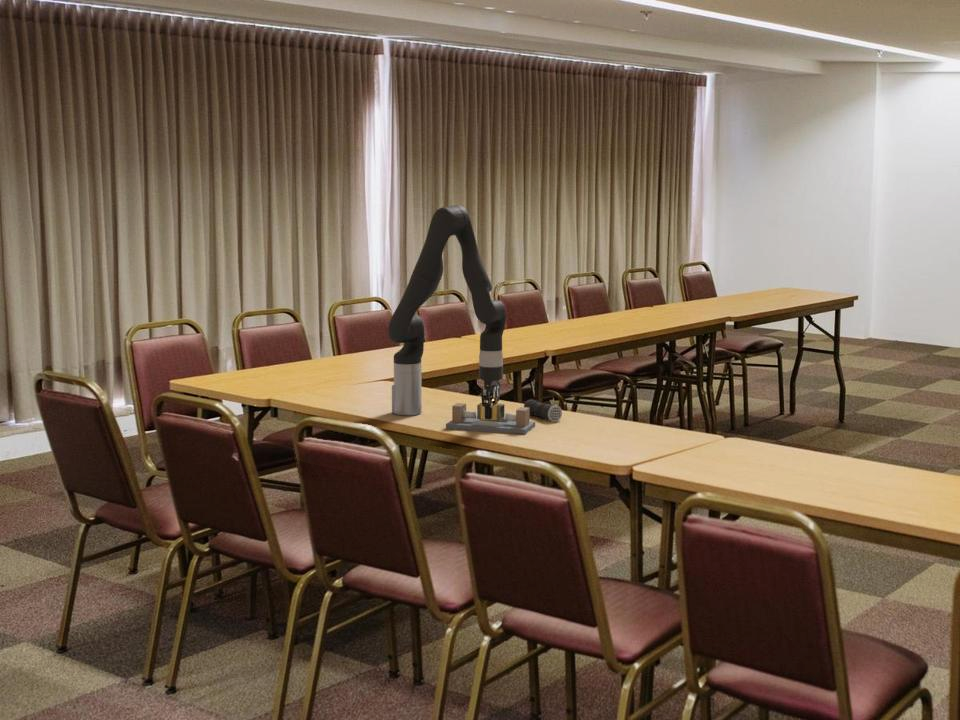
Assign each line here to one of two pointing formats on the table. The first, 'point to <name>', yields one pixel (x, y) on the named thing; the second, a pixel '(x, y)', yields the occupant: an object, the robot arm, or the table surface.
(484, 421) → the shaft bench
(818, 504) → the table surface
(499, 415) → the coupler
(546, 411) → the flashlight
